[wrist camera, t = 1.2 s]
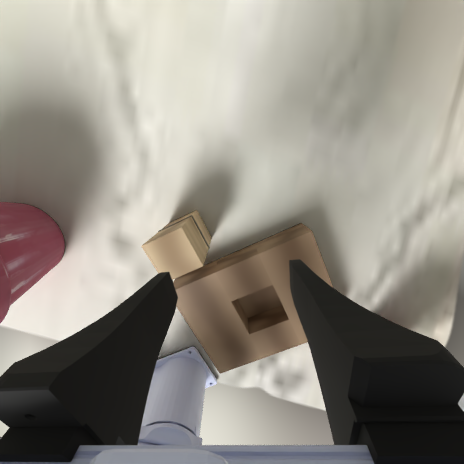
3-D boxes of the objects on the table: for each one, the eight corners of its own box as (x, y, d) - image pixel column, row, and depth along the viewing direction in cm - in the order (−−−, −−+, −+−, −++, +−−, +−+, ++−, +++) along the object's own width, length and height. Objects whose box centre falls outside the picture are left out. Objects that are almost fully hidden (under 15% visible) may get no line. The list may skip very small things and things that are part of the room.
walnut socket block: (221, 351, 31) (220, 373, 28) (175, 278, 28) (167, 293, 24) (334, 309, 29) (348, 327, 26) (301, 222, 25) (312, 230, 22)
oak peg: (184, 251, 27) (164, 283, 19) (168, 223, 25) (140, 245, 18) (212, 238, 26) (203, 266, 18) (197, 209, 25) (181, 226, 17)
